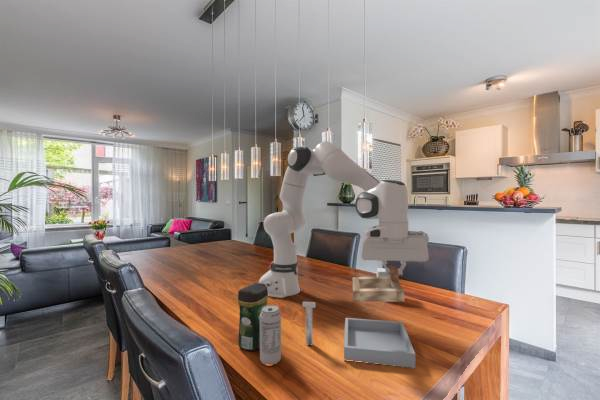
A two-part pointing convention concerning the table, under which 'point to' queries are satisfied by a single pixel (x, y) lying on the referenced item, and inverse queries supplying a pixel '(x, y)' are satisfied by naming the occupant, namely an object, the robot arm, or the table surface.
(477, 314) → the table surface
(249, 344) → the coffee jar
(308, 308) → the rod
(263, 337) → the energy drink can
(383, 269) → the supplement box
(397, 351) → the tray
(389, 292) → the ring
